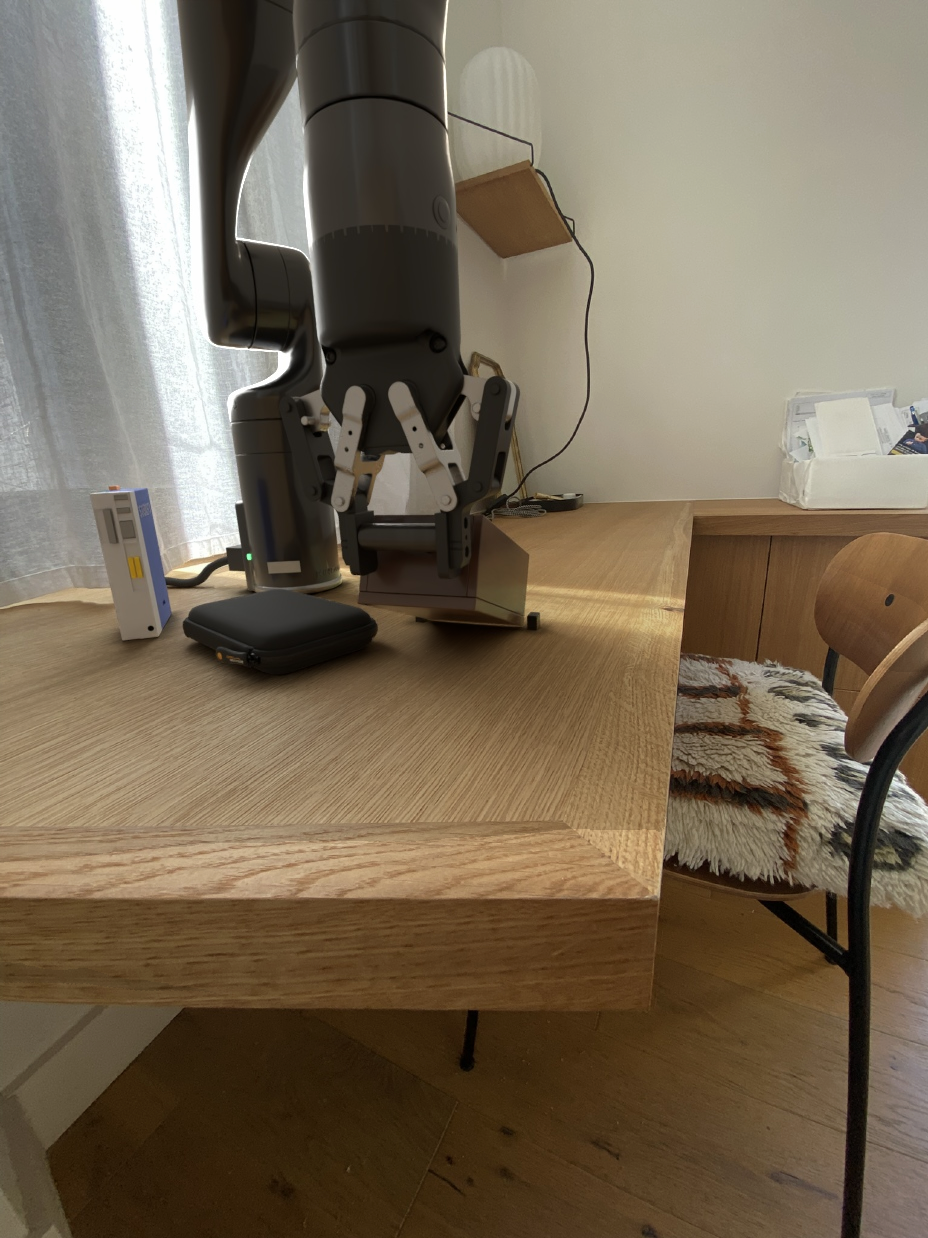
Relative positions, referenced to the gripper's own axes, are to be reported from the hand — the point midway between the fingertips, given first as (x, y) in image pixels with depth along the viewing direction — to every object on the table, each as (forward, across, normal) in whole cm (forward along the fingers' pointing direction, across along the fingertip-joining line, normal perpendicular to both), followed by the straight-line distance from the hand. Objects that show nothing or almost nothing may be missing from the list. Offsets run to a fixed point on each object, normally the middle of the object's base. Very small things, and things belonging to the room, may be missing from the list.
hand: (406, 573), depth 33 cm
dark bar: (+7, 0, -12) cm, 14 cm away
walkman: (+7, +28, -5) cm, 29 cm away
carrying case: (+7, +13, -3) cm, 15 cm away
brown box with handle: (+4, 0, -5) cm, 6 cm away
